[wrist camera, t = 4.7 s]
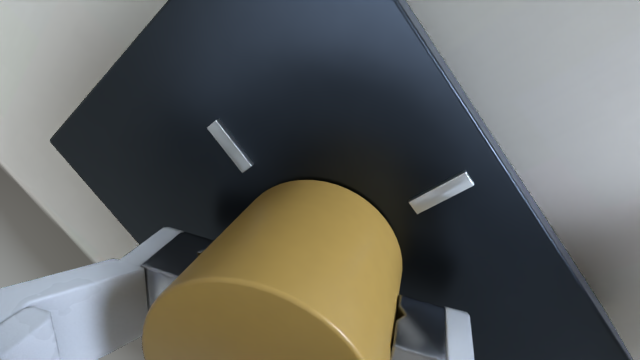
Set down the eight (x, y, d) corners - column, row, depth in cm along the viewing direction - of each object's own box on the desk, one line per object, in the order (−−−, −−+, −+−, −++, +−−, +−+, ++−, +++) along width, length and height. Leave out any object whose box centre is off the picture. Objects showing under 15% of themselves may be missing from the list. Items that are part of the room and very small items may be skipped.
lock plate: (605, 310, 12) (658, 403, 9) (346, 389, 16) (326, 467, 13) (336, -108, 9) (294, -160, 7) (122, 116, 14) (42, 142, 11)
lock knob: (345, 148, 9) (274, 250, 5) (434, 298, 10) (431, 485, 6) (211, 218, 10) (83, 331, 7) (295, 338, 11) (224, 499, 8)
